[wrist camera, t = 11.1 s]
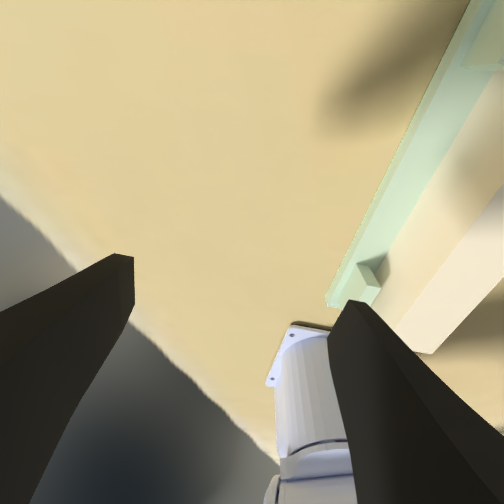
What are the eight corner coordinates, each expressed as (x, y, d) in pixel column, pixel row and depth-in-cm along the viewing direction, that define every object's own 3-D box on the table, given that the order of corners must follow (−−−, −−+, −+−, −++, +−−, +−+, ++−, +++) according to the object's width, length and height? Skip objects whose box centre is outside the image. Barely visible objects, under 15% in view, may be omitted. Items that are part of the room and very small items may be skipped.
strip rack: (411, 314, 23) (433, 348, 20) (324, 297, 22) (333, 330, 19) (657, -8, 12) (786, -38, 9) (500, -60, 11) (584, -112, 8)
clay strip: (401, 306, 21) (431, 354, 17) (360, 298, 21) (382, 345, 17) (608, 18, 12) (773, -14, 8) (539, -5, 11) (676, -48, 8)
